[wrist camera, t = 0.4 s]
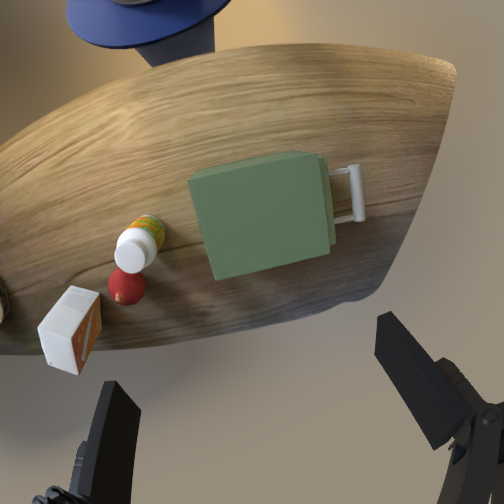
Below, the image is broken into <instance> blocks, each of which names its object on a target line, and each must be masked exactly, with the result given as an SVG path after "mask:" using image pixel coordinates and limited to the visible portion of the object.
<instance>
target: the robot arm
mask: <svg viewBox="0 0 504 504" xmlns="http://www.w3.org/2000/svg"><path fill="white" fill-rule="evenodd" d="M109 1H110V2H111V3H112V4H115V5H117V6H121V7H140V6H145V5H149V4H153V3H156V2H159V1H161V0H109ZM374 355H375V356H376V358H377V359H378V361H379V362H380V364H381V365H382V367H383V368H384V370H385V372H386V373H387V374H388V376H389V378H390V379H391V381H392V382H393V384H394V386H395V387H396V389H397V390H398V392H399V394H400V395H401V397H402V398H403V400H404V402H405V403H406V405H407V406H408V408H409V410H410V411H411V413H412V415H413V416H414V418H415V420H416V421H417V423H418V425H419V426H420V428H421V429H422V431H423V433H424V435H425V436H426V438H427V440H428V441H429V443H430V445H431V447H432V449H433V450H436V449H438V448H439V447H440V446H442V445H444V444H445V443H447V442H448V441H449V440H450V439H451V437H452V436H453V438H454V439H455V440H454V442H452V444H451V445H450V446H449V448H448V450H451V448H452V447H453V449H452V454H451V458H450V462H449V466H448V470H447V474H446V477H445V480H444V484H443V487H442V490H441V493H440V496H439V499H438V502H437V504H488V502H489V498H490V495H491V491H492V496H491V504H504V402H501V403H499V404H492V403H487V402H485V401H484V400H483V399H482V398H481V396H480V395H479V394H478V392H477V391H476V390H475V389H474V387H473V386H472V385H471V384H470V382H469V381H468V380H467V379H466V378H465V377H464V375H463V374H462V373H461V372H460V370H459V369H458V368H457V367H456V366H455V364H454V363H453V362H451V361H450V360H448V359H446V358H444V357H443V358H441V359H440V360H438V361H436V362H434V361H433V360H432V359H431V357H430V356H429V355H428V354H427V353H426V351H425V350H424V349H423V348H422V347H421V345H420V344H419V343H418V342H417V341H416V339H415V338H414V337H413V336H412V335H411V334H410V332H409V331H408V330H407V329H406V328H405V327H404V325H403V324H402V323H401V322H400V321H399V320H398V319H397V317H396V316H395V315H394V314H393V313H392V312H391V311H390V312H387V313H385V314H382V315H380V316H378V317H377V332H376V344H375V353H374ZM140 416H141V410H140V408H139V407H138V406H137V405H136V404H135V403H134V402H133V401H132V399H131V398H130V397H129V396H128V395H127V393H125V391H124V390H123V389H122V387H121V386H120V385H119V384H118V383H117V381H105V382H104V384H103V387H102V390H101V394H100V397H99V400H98V404H97V407H96V410H95V414H94V418H93V421H92V425H91V429H90V433H89V436H88V440H87V441H83V442H82V443H81V445H80V446H79V448H78V451H77V455H76V460H75V466H74V468H73V473H72V478H71V483H70V488H69V492H67V491H65V490H63V489H62V488H60V487H58V486H51V487H49V489H47V491H46V495H45V496H46V497H43V496H41V495H37V496H35V497H34V498H33V501H32V504H131V503H130V502H131V489H132V478H133V468H134V459H135V450H136V443H137V436H138V429H139V422H140Z"/></svg>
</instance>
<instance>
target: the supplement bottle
mask: <svg viewBox="0 0 504 504" xmlns="http://www.w3.org/2000/svg"><path fill="white" fill-rule="evenodd" d="M164 239H165V228H164V225H163V224H162V222H161V221H160V220H159V219H158V218H156V217H154V216H150V215H144V216H141V217H139V218H138V219H136V220H135V221H134V222H133V223H132V224H131V225H130V226H129V227H128V228H127V229H126V230H125V231H124V232H123V233H122V234H121V236H120V237H119V239H118V242H117V249H116V251H115V261H116V263H117V265H118V267H119V268H120V269H121V270H123V271H124V272H127V273H137V272H139V271H141V270H142V269H143V268H145V267H147V266H149V265H150V264H151V263H152V262H153V260H154V259H155V257H156V255H157V253H158V251H159V249H160V248H161V246H162V244H163V242H164Z"/></svg>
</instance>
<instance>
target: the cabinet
mask: <svg viewBox="0 0 504 504" xmlns="http://www.w3.org/2000/svg"><path fill="white" fill-rule="evenodd" d="M188 185H189V188H190V192H191V196H192V200H193V204H194V207H195V211H196V215H197V219H198V222H199V226H200V229H201V233H202V237H203V240H204V244H205V247H206V251H207V254H208V257H209V261H210V264H211V268H212V271H213V274H214V278H215V281H218V280H222V279H226V278H231V277H235V276H239V275H244V274H248V273H252V272H256V271H261V270H265V269H269V268H273V267H277V266H282V265H286V264H290V263H294V262H298V261H302V260H306V259H310V258H314V257H318V256H322V255H326V254H330V245H329V235H328V226H327V217H326V208H325V200H324V192H323V185H322V178H321V171H320V165H319V159H318V154H317V153H309V152H301V151H292V150H291V151H286V152H280V153H274V154H269V155H264V156H259V157H254V158H249V159H244V160H239V161H235V162H230V163H226V164H222V165H217V166H213V167H209V168H205V169H201V170H197V171H196V172H195V173H194V174H193V175H192V176H191V178H190V179H189V180H188Z"/></svg>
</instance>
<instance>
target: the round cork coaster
mask: <svg viewBox="0 0 504 504" xmlns="http://www.w3.org/2000/svg"><path fill="white" fill-rule="evenodd" d="M8 312H9V300H8V296H7V292H6V290H5V287H4V285H3V282H2V281H1V279H0V323H1V322H2V321H3V320H4V319H5V318H6V317H7V315H8Z"/></svg>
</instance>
